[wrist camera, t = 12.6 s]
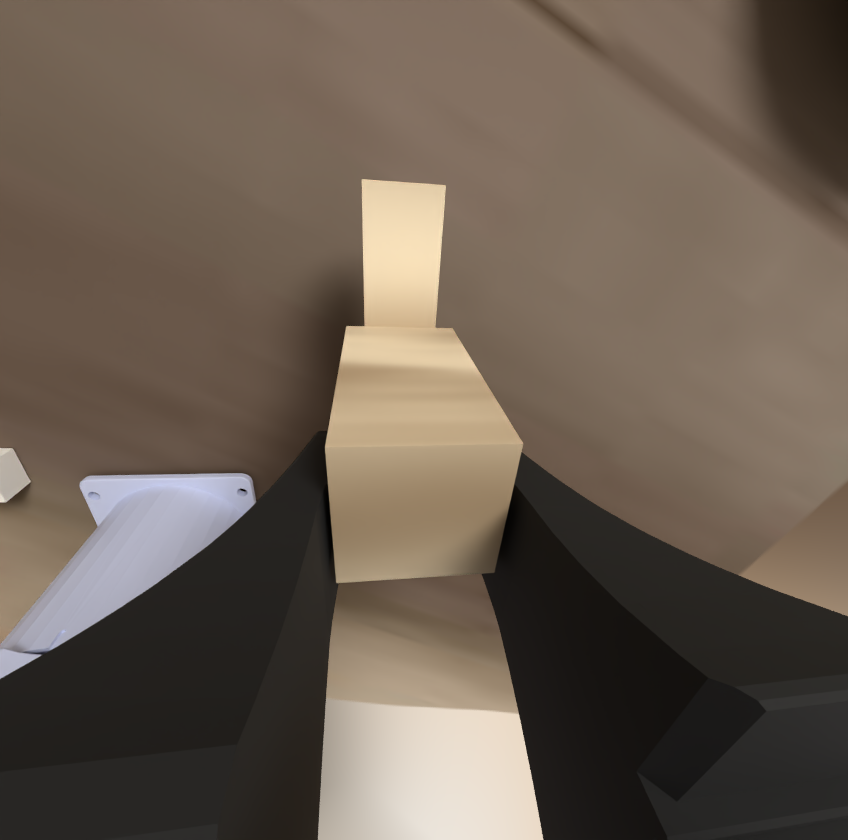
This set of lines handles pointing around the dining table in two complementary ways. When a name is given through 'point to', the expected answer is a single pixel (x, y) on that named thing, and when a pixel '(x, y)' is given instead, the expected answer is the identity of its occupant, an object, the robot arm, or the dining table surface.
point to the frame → (11, 474)
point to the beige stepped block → (413, 414)
